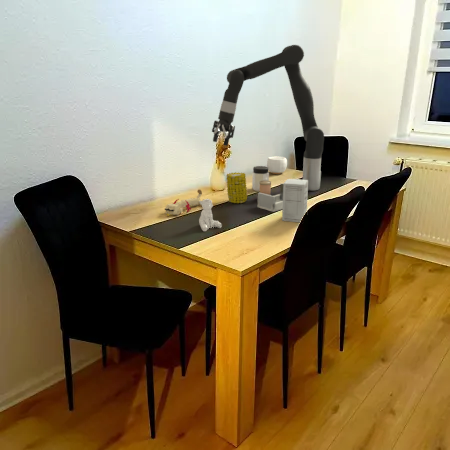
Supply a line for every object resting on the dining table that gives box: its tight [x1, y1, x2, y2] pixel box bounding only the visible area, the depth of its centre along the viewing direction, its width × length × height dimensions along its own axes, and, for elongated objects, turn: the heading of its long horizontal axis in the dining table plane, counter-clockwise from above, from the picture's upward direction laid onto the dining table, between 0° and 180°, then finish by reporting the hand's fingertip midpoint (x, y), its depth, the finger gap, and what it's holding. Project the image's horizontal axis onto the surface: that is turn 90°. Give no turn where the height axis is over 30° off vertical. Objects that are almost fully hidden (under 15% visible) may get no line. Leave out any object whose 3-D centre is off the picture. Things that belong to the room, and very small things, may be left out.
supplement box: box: [281, 178, 309, 223], centre depth 196 cm, size 10×9×17 cm
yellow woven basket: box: [226, 172, 248, 205], centre depth 222 cm, size 15×12×10 cm
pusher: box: [279, 183, 284, 201], centre depth 220 cm, size 1×7×8 cm, turn 43°
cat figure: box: [164, 188, 204, 217], centre depth 210 cm, size 10×9×25 cm
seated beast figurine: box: [198, 198, 223, 232], centre depth 186 cm, size 10×9×12 cm
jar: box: [251, 165, 270, 192], centre depth 245 cm, size 9×8×12 cm
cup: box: [266, 155, 288, 175], centre depth 283 cm, size 12×12×10 cm
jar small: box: [258, 180, 272, 196], centre depth 227 cm, size 6×6×9 cm
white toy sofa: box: [256, 191, 283, 213], centre depth 216 cm, size 17×10×7 cm, turn 133°
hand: (219, 143), depth 229 cm, fingers open, 8 cm apart
